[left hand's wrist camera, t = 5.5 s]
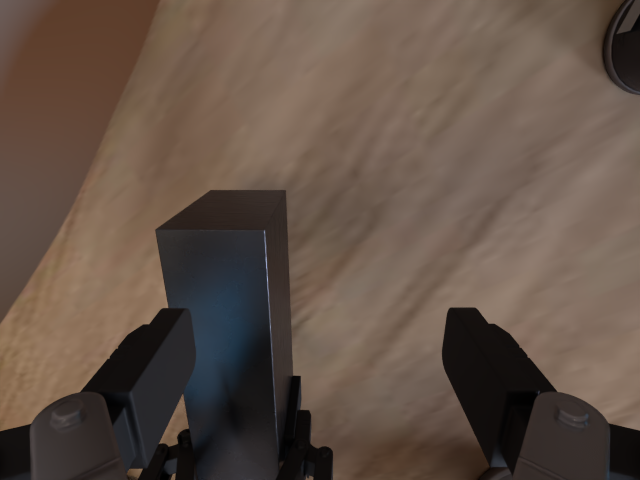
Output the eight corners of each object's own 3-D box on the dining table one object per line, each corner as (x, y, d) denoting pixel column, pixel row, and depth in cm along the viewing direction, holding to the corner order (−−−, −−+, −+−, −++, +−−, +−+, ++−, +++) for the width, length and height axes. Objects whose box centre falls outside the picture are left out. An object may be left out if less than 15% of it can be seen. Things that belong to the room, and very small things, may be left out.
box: (210, 189, 28) (154, 229, 19) (285, 190, 28) (264, 229, 19) (234, 410, 36) (203, 511, 27) (294, 411, 36) (282, 513, 27)
